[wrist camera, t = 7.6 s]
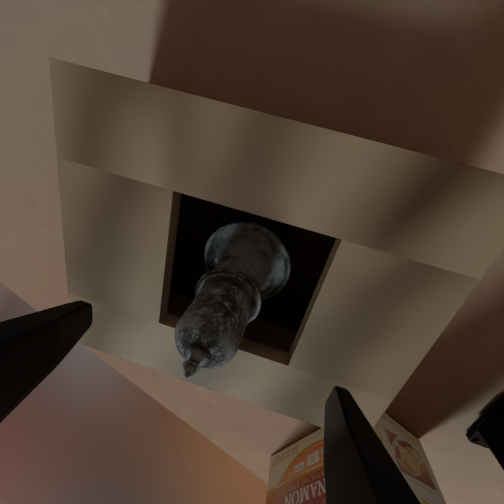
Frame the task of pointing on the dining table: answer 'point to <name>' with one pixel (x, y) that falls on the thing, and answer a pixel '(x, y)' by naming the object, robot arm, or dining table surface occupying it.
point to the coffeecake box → (312, 467)
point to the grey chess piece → (232, 289)
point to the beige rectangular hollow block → (276, 208)
